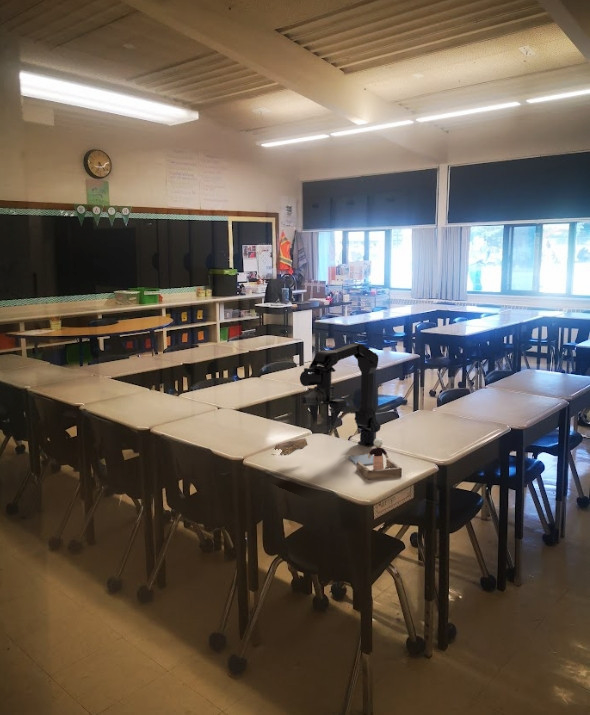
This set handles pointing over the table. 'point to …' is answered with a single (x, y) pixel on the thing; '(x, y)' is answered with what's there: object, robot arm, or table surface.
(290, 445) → the wooden fragment
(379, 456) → the grandmother figurine
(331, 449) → the table surface
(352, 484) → the table surface
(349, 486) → the table surface
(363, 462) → the slate mat
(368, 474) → the walnut stall
